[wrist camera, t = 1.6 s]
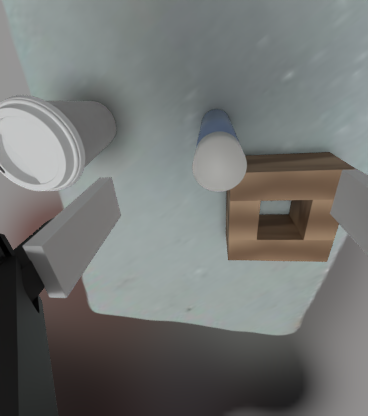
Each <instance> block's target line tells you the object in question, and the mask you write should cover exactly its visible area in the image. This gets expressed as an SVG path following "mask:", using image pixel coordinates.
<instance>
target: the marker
mask: <svg viewBox="0 0 368 416" xmlns="http://www.w3.org/2000/svg"><path fill="white" fill-rule="evenodd" d="M192 169H193V174H194V177H195V179H196V180H197V182H198V183H199V184H200V185H201V186H202V187H204V188H205V189H207V190H210V191H215V192H223V191H227V190H230V189H232V188H234V187H235V186H237V185H238V184H239V183H240V182H241V180H242V179H243V177H244V175H245V173H246V169H247V161H246V157H245V155H244V152H243V150H242V148H241V145H240V143H239V141H238V138H237V136H236V133H235V131H234V129H233V126H232V124H231V122H230V119H229V117H228V115H227V114H226V113H225V112H224V111H222V110H219V109H214V110H211V111H209V112H207V113H206V114H205V116H204V117H203V120H202V124H201V128H200V133H199V137H198V142H197V146H196V151H195V155H194V160H193V165H192Z"/></svg>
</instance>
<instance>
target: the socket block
mask: <svg viewBox="0 0 368 416" xmlns="http://www.w3.org/2000/svg"><path fill="white" fill-rule="evenodd" d="M245 157H246V161H247V169H246V173H245V175H244V177H243V179H242V180H241V182H240V183H239V184H238V185H237V186H235V187H234V188H232V189H230V190H227V200H226V241H227V252H228V260H261V261H318V262H327V260H328V257H329V254H330V251H331V247H332V244H333V241H334V238H335V235H336V232H337V229H338V225H339V223H338V222H337V221H336V220H335V219H334V218H333V216H332V215H331V214H330V212H331V208H332V205H333V201H334V198H335V194H336V190H337V187H338V183H339V180H340V176H341V173H342V170H354V169H355V168H354V167H352V166H351V165H349V164H347V163H346V162H344V161H343V160H341V159H340V158H338V157H336V156H335V155H333V154H332V153H330V152H322V153H297V154H273V155H248V156H245ZM273 200H292V201H291V207H290V212H289V214H285V215H259V212H260V202H261V201H273Z"/></svg>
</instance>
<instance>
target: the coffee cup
mask: <svg viewBox="0 0 368 416" xmlns="http://www.w3.org/2000/svg"><path fill="white" fill-rule="evenodd" d="M115 134H116V122H115V119H114V117H113V115H112V113H111V112H110V111H109V109H108V108H106V107H105V106H104V105H102V104H101V103H99V102H95V101H44V100H42V99H40V98H37V97H33V96H28V95H16V96H12V97H9V98H7V99H5V100H3V101H2V102H0V172H1V173H2V174H3V175H4V176H5V177H7V178H8V179H9V180H11V181H12V182H14V183H15V184H17V185H19V186H21V187H24V188H26V189H30V190H34V191H56V190H62V189H65V188H68V187H70V186H72V185H73V184H75V183H76V182H77V181H78V180H79V178H80V177H81V175H82V173H83V170H84V168H85V167H86V166H87V165H88V164H89V163H90V162H91V161H92V160H93V159H94V158H95V157H96V156H97V155H98V154H99V153H100V152H101V151H102V150H103V149H104V148H105V147H106V146H107V145H108V144H109V143H110V142H111V141H112V140H113V139H114V137H115Z"/></svg>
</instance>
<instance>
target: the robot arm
mask: <svg viewBox="0 0 368 416" xmlns="http://www.w3.org/2000/svg"><path fill="white" fill-rule="evenodd" d="M330 214H331V215H332V216H333V218H334V219H335V220H336V221H337V222H338V223H339V224H340V225H341V227H342V228H343V229H344V230H345V231H346V232H347V233H348V234H349V235H350V237H351V238H352V239H353V240H354V241H355V242H356V243H357V244H358V246H360V248H361V249H362V250H363V251H364V252H365V253H366V255H367V256H368V175H366V174H364V173H363V172H361V171H359V170H358V169H354V170H342V173H341V176H340V180H339V183H338V187H337V190H336V194H335V198H334V201H333V205H332V208H331V212H330ZM120 216H121V214H120V210H119V205H118V201H117V197H116V193H115V189H114V185H113V181H112V177H107V178H99V179H98V180H97V181H96V182H94V183H93V184H92V185H91V186H90V187H89V188H88V189H87V190H85V191H84V192H83V193H82V194H81V195H80V196H79V197H77V198H76V199H75V200H74V201H73V202H72V203H71V204H70V205H68V206H67V207H66V208H65V209H64V210H63V211H62V212H60V213H59V214H58V215H57V216H56V217H54V218H53V219H51V220H49V221H47V222H46V223H44V224H43V225H42V226H41V227H40V228H39V230H36V231H35V232H34V233H33V235H30V236H29V237H28V238H27V239H26V240H25V241H24V242H22V243H21V244H20V245H19V246H18V247H17V248H15V249H14V250H13V249H12V247H11V245H10V244H9V242H8V240H7V238H6V237H5V235H3V234H0V416H58V411H57V405H56V397H55V390H54V383H53V376H52V369H51V362H50V355H49V348H48V341H47V334H46V327H45V320H44V313H43V305H42V300H41V298H40V297H39V294H40V292H41V291H42V290H43V289H44V287H45V289H46V291H47V293H48V295H49V297H53V298H54V297H55V298H67V297H68V295H69V294H70V292H71V291H72V289H73V287H74V286H75V284H76V283H77V281H78V280H79V278H80V277H81V275H82V274H83V272H84V271H85V269H86V268H87V266H88V265H89V263H90V262H91V260H92V259H93V257H94V256H95V254H96V253H97V251H98V250H99V248H100V247H101V245H102V244H103V242H104V241H105V239H106V238H107V236H108V235H109V233H110V232H111V230H112V229H113V227H114V226H115V224H116V223H117V221H118V219H119V218H120Z"/></svg>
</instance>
